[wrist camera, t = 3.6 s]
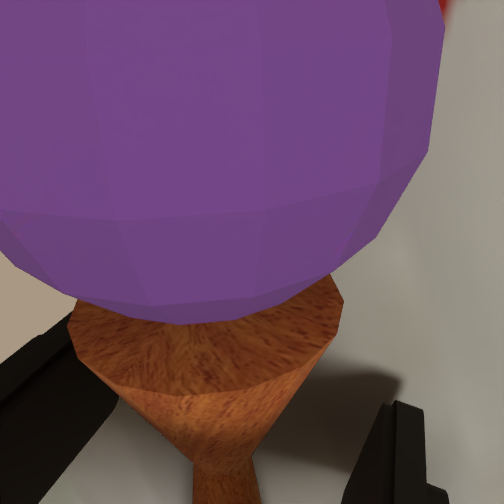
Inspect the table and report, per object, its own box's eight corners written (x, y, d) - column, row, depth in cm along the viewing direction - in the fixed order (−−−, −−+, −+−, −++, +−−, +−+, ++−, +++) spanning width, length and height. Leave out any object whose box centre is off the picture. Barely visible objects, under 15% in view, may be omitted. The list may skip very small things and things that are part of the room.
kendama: (94, 757, 13) (-404, -291, 4) (211, 554, 18) (126, -132, 8) (299, 932, 10) (414, -1081, 1) (372, 640, 15) (511, -208, 6)
